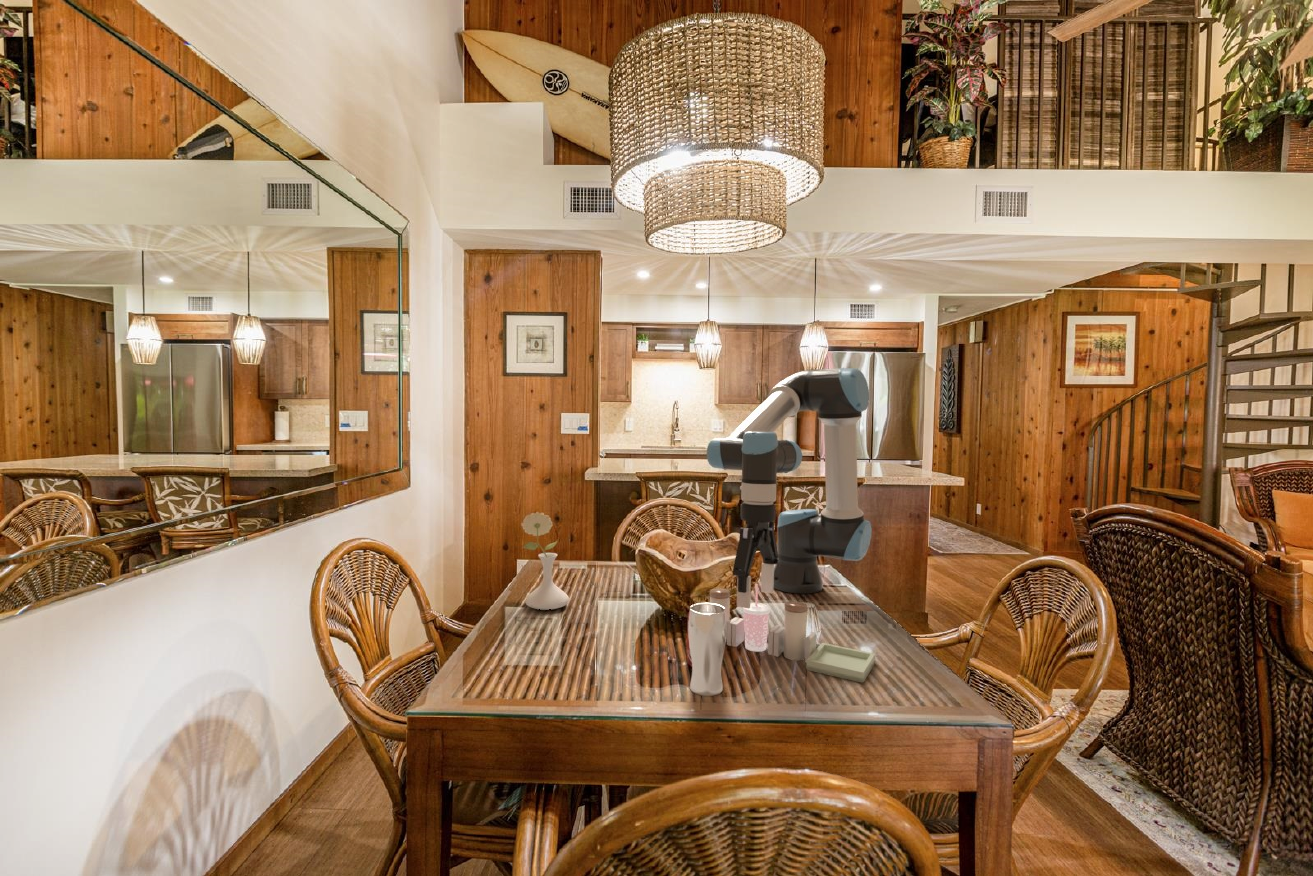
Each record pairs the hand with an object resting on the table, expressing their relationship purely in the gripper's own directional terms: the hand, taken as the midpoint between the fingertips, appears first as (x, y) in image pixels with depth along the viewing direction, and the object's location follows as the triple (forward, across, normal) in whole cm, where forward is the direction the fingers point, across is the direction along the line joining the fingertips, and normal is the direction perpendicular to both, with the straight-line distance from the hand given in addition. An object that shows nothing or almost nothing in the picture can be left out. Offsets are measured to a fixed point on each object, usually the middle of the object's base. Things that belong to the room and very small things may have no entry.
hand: (755, 599), depth 130 cm
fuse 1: (+11, 0, -9) cm, 14 cm away
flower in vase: (+11, +4, -58) cm, 59 cm away
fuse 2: (+11, 0, +9) cm, 14 cm away
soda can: (+11, +14, -5) cm, 19 cm away
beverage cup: (+11, 0, 0) cm, 11 cm away
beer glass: (+11, +24, 0) cm, 26 cm away
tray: (+11, 0, +18) cm, 21 cm away
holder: (+11, -3, 0) cm, 11 cm away
